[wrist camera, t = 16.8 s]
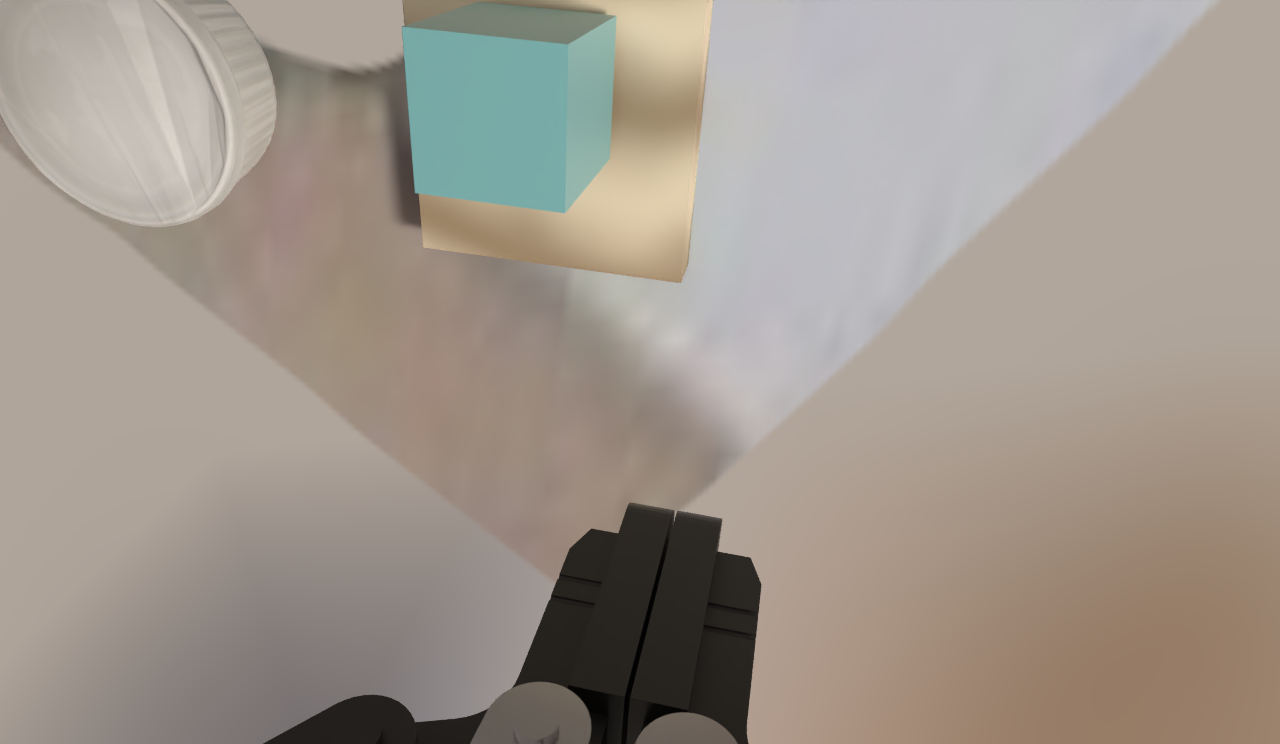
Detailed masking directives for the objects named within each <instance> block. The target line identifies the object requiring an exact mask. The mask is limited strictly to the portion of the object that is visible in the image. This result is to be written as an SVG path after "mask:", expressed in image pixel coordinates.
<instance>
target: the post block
mask: <svg viewBox="0 0 1280 744" xmlns="http://www.w3.org/2000/svg"><path fill="white" fill-rule="evenodd" d="M476 2H486V3H496V4H506V5H516V6H526V7H536V8H546V9H556V10H566V11H576V12H585V13H595V14H605V15H615V16H617V17H616V38H615V60H614V81H613V103H612V124H611V146H610V159H609V161H608V162H607V163H606V164H605V165H604V167H603V168H602V169H601V170H600V172H599V173H598V174H597V175H596V176H595V178H594V179H593V180H592V181H591V182H590V184H589V185H588V186H587V187H586V189H585V190H584V191H583V192H582V193H581V195H580V196H579V197H578V198H577V199H576V201H575V202H574V203H573V204H572V206H571V207H570V208H569V209H568V210H567V212H566V213H558V212H551V211H544V210H536V209H529V208H522V207H514V206H507V205H500V204H492V203H485V202H478V201H470V200H463V199H456V198H448V197H441V196H433V195H426V194H419V203H420V215H421V227H422V239H423V247H425V248H432V249H439V250H446V251H454V252H461V253H468V254H475V255H483V256H490V257H497V258H504V259H511V260H519V261H526V262H533V263H540V264H547V265H555V266H562V267H569V268H576V269H584V270H591V271H598V272H605V273H612V274H620V275H627V276H634V277H641V278H648V279H656V280H663V281H670V282H677V283H681V281H682V279H683V276H684V274H685V271H686V268H687V266H688V257H689V247H690V236H691V226H692V215H693V205H694V194H695V184H696V173H697V163H698V152H699V142H700V131H701V121H702V110H703V100H704V89H705V79H706V68H707V58H708V47H709V37H710V26H711V16H712V5H713V0H403V11H404V23H405V25H408V24H412V23H415V22H418V21H421V20H424V19H427V18H430V17H433V16H436V15H439V14H442V13H445V12H448V11H451V10H455V9H458V8H461V7H464V6H467V5H470V4H473V3H476Z"/></svg>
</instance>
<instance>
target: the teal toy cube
mask: <svg viewBox="0 0 1280 744" xmlns="http://www.w3.org/2000/svg"><path fill="white" fill-rule="evenodd" d="M616 17H617V16H615V15H605V14H595V13H585V12H576V11H566V10H556V9H546V8H536V7H526V6H516V5H506V4H496V3H486V2H476V3H473V4H470V5H467V6H464V7H461V8H458V9H455V10H451V11H448V12H445V13H442V14H439V15H436V16H433V17H430V18H427V19H424V20H421V21H418V22H415V23H412V24H408V25H405V26H402V36H403V48H404V61H405V74H406V86H407V99H408V111H409V124H410V137H411V149H412V162H413V174H414V187H415V193H419V194H426V195H433V196H441V197H448V198H456V199H463V200H470V201H478V202H485V203H492V204H500V205H507V206H514V207H522V208H529V209H536V210H544V211H551V212H558V213H566V212H567V210H568V209H569V208H570V207H571V206H572V204H573V203H574V202H575V201H576V199H577V198H578V197H579V196H580V195H581V193H582V192H583V191H584V190H585V189H586V187H587V186H588V185H589V184H590V182H591V181H592V180H593V179H594V178H595V176H596V175H597V174H598V173H599V172H600V170H601V169H602V168H603V167H604V165H605V164H606V163H607V162H608V161H609V159H610V146H611V124H612V103H613V81H614V60H615V38H616Z"/></svg>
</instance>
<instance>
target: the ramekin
mask: <svg viewBox="0 0 1280 744" xmlns="http://www.w3.org/2000/svg"><path fill="white" fill-rule="evenodd" d="M276 106H277V102H276V95H275V86H274V82H273V77H272V73H271V71H270V68H269V64H268V61H267V58H266V56H265V54H264V52H263V50H262V47H261V45H260V43H259V42H258V41H257V39H256V37H255V36H254V34H253V31H252V30H251V29H250V27H249V26H248V25H247V24H246V22H245V20H244V19H243V17H242V16H241V15H240V14H239V13H238V12H237V11H236V10H235V9H234V8H233V6H232V5H231V4H230V3H229V2H228V1H226V0H0V115H1V117H2V119H3V121H4V122H5V124H6V126H7V127H8V129H9V131H10V132H11V134H12V135H13V137H14V138H15V140H16V141H17V143H18V144H19V146H20V148H21V149H22V150H23V152H24V153H25V154H26V156H27V157H28V158H29V159H30V160H31V161H32V162H33V163H34V164H35V166H36V167H37V169H38V170H39V171H40V172H41V173H42V174H43V175H44V176H46V177H47V178H48V179H49V180H50V181H51V182H53V183H54V184H55V185H56V186H57V187H59V188H60V189H62V190H63V191H64V192H66V193H67V194H68V195H70V196H71V197H73V198H74V199H76V200H77V201H79V202H80V203H82V204H83V205H85V206H87V207H89V208H90V209H92V210H94V211H96V212H98V213H100V214H103V215H105V216H107V217H110V218H113V219H116V220H119V221H122V222H125V223H129V224H133V225H139V226H147V227H166V226H172V225H178V224H182V223H186V222H190V221H193V220H195V219H197V218H199V217H200V216H202V215H204V214H206V213H207V212H209V211H210V210H212V209H213V208H215V207H216V206H217V205H219V204H220V203H221V202H222V201H223V200H224V199H225V198H226V197H227V195H228V194H229V193H230V191H231V190H232V188H233V187H234V185H235V184H236V183H237V182H238V181H239V180H240V179H241V178H243V177H244V176H245V175H246V174H247V173H248V172H249V171H250V170H251V169H252V168H253V167H254V166H255V165H256V164H257V163H258V162H259V160H260V158H261V157H262V156H263V154H264V153H265V151H266V148H267V146H268V145H269V143H270V141H271V137H272V134H273V132H274V129H275V121H276Z"/></svg>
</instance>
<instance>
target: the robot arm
mask: <svg viewBox="0 0 1280 744" xmlns="http://www.w3.org/2000/svg"><path fill="white" fill-rule="evenodd" d="M721 526H722V519H721V518H716V517H710V516H704V515H699V514H693V513H688V512H682V511H677V514H676V517H675V521H674V510H670V509H664V508H658V507H653V506H647V505H642V504H636V503H629V504H628V507H627V509H626V512H625V515H624V518H623V521H622V524H621V527H620V530H619V533H612V532H607V531H602V530H596V529H591V530H589V531H588V532H587V533H586V534H585V535H584V536H583V537H582V538H581V539H580V540H579V541H577V542H576V543H575V544H574V545H573V546H572V547H571V548H570V549H569V552H568V554H567V557H566V559H565V562H564V564H563V567H562V569H561V572H560V576H559V579H557V582H556V584H555V587H554V590H553V592H552V595H551V599H550V600H549V602H548V605H547V607H546V609H545V612H544V614H543V617H542V620H541V622H540V625H539V627H538V630H537V632H536V635H535V637H534V639H533V642H532V645H531V647H530V650H529V652H528V655H527V657H526V660H525V662H524V665H523V667H522V670H521V672H520V675H519V677H518V679H517V681H516V683H515V685H514V686H513V687H512V688H511V689H510V690H508V691H506V692H504V693H503V694H502V695H501V696H500V697H498V698H497V699H496V700H495V701H494V702H493V704H492V705H491V706H490V707H489V708H488V709H487V710H485V711H482V712H480V713H478V714H475V715H472V716H468V717H464V718H457V719H448V720H437V721H426V722H415V721H414V718H413V717H412V715H411V713H410V712H409V711H408V709H407V708H406V707H405V706H404V705H402V704H401V703H400V702H398V701H396V700H394V699H392V698H389V697H384V696H379V695H363V696H357V697H353V698H350V699H347V700H344V701H342V702H339V703H337V704H335V705H333V706H332V707H330V708H328V709H326V710H324V711H322V712H321V713H319V714H317V715H315V716H313V717H311V718H309V719H308V720H306V721H304V722H302V723H300V724H298V725H297V726H295V727H293V728H291V729H289V730H287V731H286V732H284V733H282V734H280V735H278V736H276V737H275V738H273V739H271V740H269V741H267V742H265V743H264V744H748V739H747V717H748V707H749V698H750V689H751V679H752V669H753V660H754V650H755V639H756V630H757V621H758V612H759V603H760V592H761V582H760V581H759V577H758V575H757V572H756V570H755V568H754V565H753V563H752V560H751V558H749V557H744V556H738V555H733V554H728V553H722V552H718V547H719V539H720V532H721Z"/></svg>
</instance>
